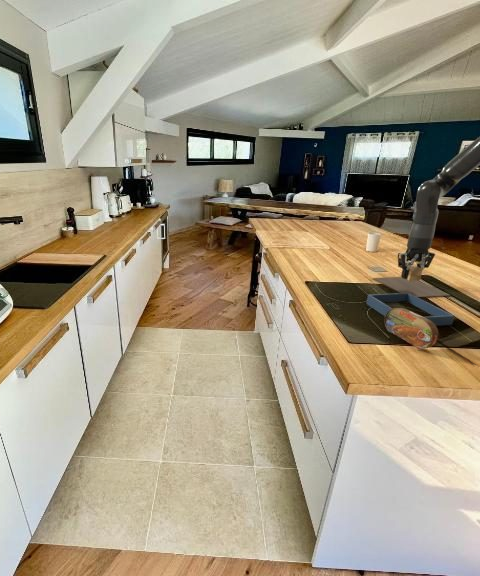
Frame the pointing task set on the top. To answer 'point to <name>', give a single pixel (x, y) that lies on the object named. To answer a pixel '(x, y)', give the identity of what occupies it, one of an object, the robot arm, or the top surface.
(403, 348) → the top surface
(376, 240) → the drinking glass
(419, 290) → the board
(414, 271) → the block
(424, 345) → the tin
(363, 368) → the top surface
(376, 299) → the blue rectangular frame
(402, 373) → the top surface
